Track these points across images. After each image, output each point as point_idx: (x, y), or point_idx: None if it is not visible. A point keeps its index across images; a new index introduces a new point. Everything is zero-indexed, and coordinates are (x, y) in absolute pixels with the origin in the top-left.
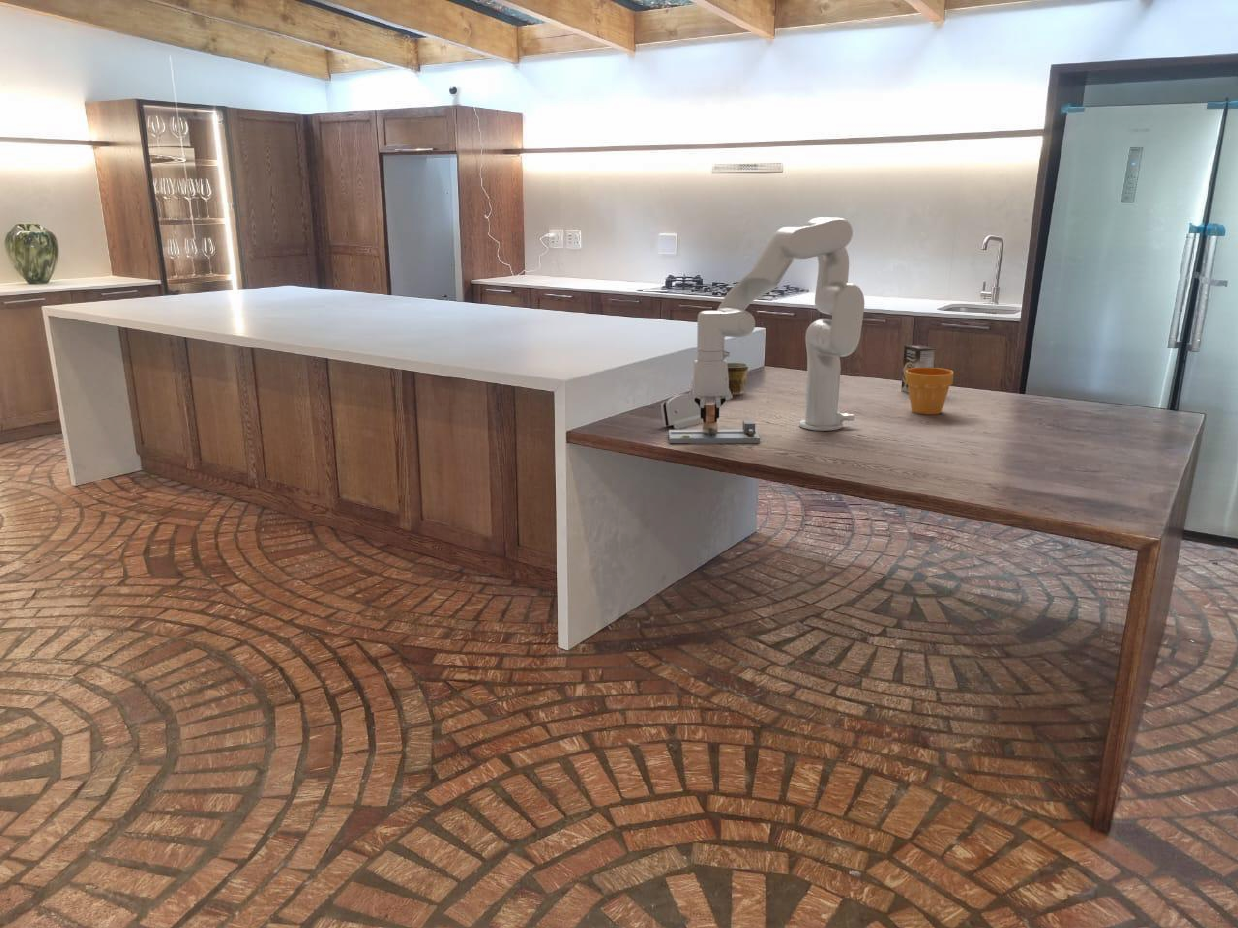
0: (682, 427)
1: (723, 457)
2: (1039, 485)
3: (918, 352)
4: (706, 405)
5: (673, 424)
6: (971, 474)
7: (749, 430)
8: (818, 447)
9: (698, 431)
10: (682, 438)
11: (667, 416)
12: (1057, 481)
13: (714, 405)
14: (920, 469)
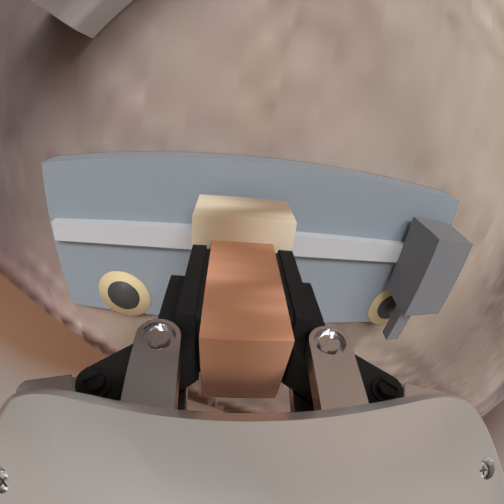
0: (128, 2)
1: (243, 404)
2: (485, 404)
3: None
4: (205, 391)
5: (71, 27)
6: (482, 396)
7: (391, 332)
8: (472, 333)
9: (176, 242)
10: (114, 309)
11: (32, 1)
12: (500, 393)
13: (275, 393)
14: (468, 396)
